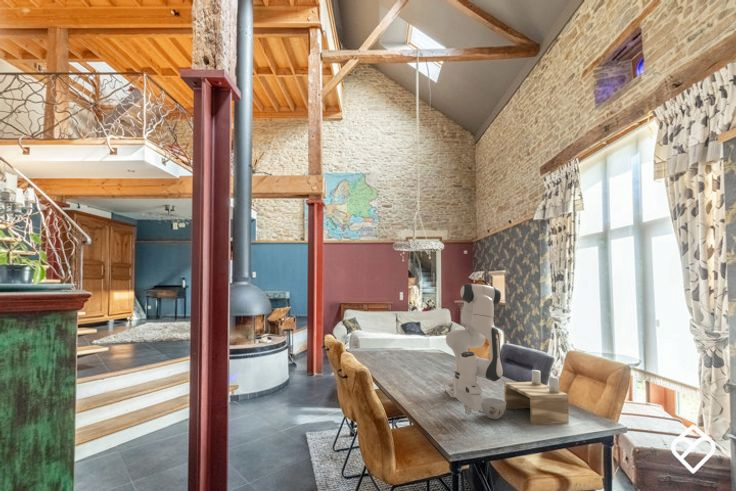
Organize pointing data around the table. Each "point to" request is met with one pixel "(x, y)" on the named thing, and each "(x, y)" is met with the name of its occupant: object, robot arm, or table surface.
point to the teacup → (493, 407)
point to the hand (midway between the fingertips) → (467, 414)
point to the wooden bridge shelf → (537, 402)
